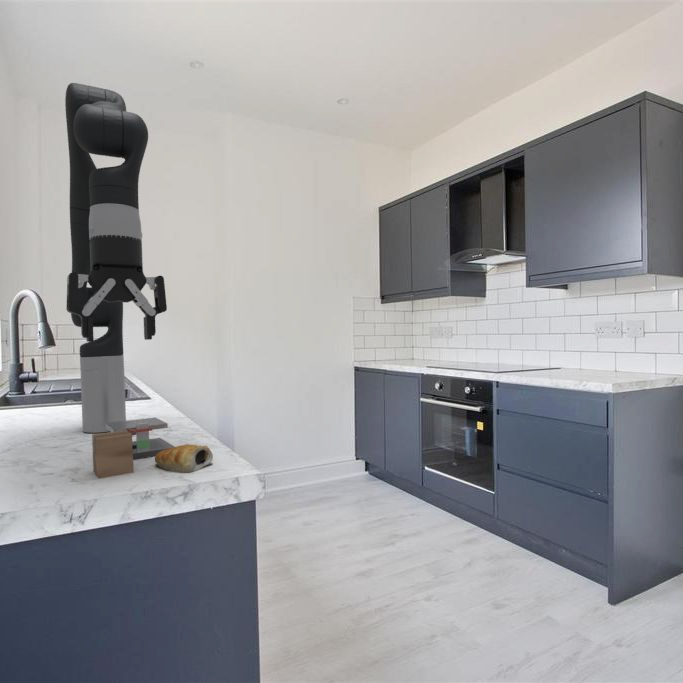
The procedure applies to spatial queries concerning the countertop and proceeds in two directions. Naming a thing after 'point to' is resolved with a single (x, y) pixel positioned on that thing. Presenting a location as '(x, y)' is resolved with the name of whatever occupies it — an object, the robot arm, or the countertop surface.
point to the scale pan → (131, 425)
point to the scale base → (147, 443)
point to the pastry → (184, 458)
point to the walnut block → (112, 454)
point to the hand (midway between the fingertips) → (119, 340)
